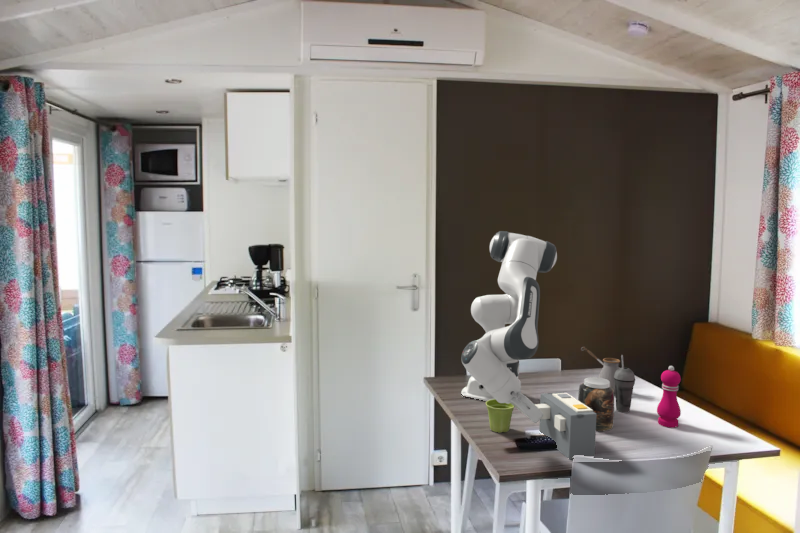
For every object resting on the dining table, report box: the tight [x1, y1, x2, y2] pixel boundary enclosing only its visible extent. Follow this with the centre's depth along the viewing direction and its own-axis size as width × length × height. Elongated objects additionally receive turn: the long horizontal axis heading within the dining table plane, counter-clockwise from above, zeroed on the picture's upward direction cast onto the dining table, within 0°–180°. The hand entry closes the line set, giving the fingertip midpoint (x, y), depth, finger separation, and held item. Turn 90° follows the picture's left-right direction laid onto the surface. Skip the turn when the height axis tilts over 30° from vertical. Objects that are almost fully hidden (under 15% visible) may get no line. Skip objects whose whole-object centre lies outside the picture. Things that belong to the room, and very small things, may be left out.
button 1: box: [533, 403, 551, 419], centre depth 185 cm, size 5×4×4 cm
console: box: [538, 391, 597, 460], centre depth 182 cm, size 8×20×14 cm, turn 12°
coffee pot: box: [580, 346, 621, 392], centre depth 238 cm, size 21×12×15 cm, turn 28°
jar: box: [577, 376, 616, 432], centre depth 199 cm, size 12×12×15 cm
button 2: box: [554, 415, 566, 431], centre depth 176 cm, size 5×4×4 cm
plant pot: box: [485, 399, 515, 434], centre depth 194 cm, size 9×9×9 cm
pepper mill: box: [656, 365, 682, 429], centre depth 199 cm, size 7×7×20 cm
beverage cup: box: [614, 354, 636, 414], centre depth 212 cm, size 7×7×20 cm
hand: (536, 418), depth 174 cm, fingers closed
